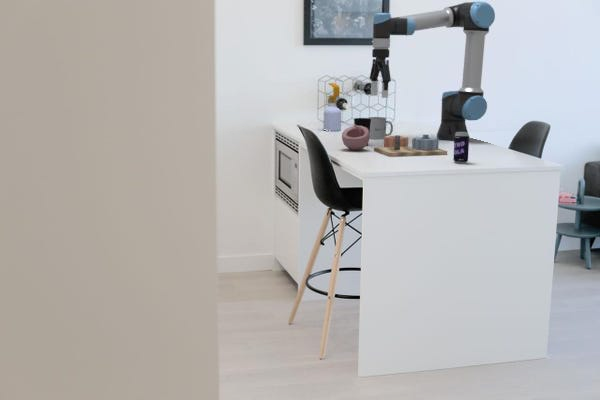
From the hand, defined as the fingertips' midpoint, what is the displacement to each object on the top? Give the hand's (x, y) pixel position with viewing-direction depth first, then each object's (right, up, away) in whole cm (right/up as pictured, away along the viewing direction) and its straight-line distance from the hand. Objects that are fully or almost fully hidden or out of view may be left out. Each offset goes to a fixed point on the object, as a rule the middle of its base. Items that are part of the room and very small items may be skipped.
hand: (379, 96), depth 380 cm
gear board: (+11, -26, -18) cm, 33 cm away
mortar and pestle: (-11, -25, -11) cm, 29 cm away
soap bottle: (-19, -10, +65) cm, 68 cm away
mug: (+4, -17, +32) cm, 37 cm away
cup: (-7, -21, +7) cm, 24 cm away
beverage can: (+28, -32, -44) cm, 61 cm away
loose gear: (+7, -23, 0) cm, 24 cm away
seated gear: (+18, -24, -16) cm, 34 cm away
